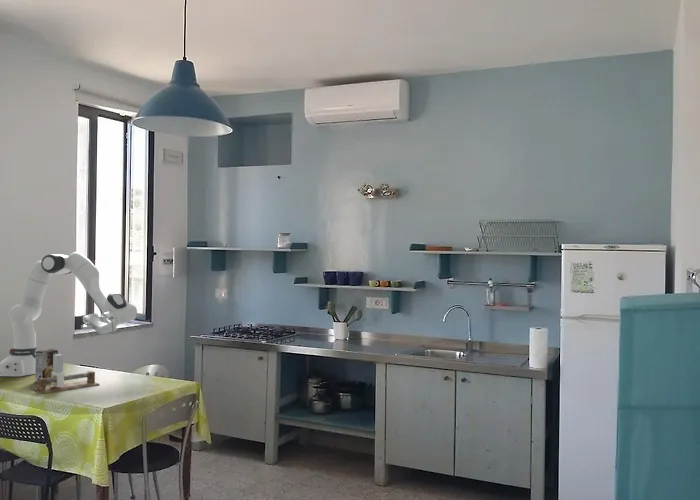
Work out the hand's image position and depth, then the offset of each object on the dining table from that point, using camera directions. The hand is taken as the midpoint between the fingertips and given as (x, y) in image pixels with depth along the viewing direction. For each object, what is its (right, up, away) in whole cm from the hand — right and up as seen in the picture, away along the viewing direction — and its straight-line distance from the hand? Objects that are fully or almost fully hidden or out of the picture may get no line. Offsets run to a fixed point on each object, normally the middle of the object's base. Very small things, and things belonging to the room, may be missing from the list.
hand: (82, 327), depth 330 cm
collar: (-8, -27, -11) cm, 31 cm away
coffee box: (-21, -29, +6) cm, 36 cm away
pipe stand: (-4, -29, -8) cm, 30 cm away
